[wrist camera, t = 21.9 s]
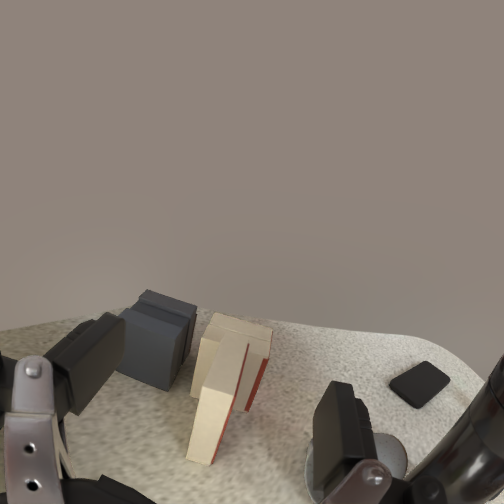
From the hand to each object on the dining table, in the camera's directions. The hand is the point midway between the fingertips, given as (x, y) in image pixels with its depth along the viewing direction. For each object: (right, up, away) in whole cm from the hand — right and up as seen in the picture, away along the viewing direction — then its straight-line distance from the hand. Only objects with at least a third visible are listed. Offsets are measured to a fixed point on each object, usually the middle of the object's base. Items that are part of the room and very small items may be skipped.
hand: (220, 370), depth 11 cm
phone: (+31, -19, +33) cm, 49 cm away
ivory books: (-2, -12, +25) cm, 28 cm away
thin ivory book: (-4, -15, +17) cm, 23 cm away
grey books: (-11, -10, +25) cm, 30 cm away
